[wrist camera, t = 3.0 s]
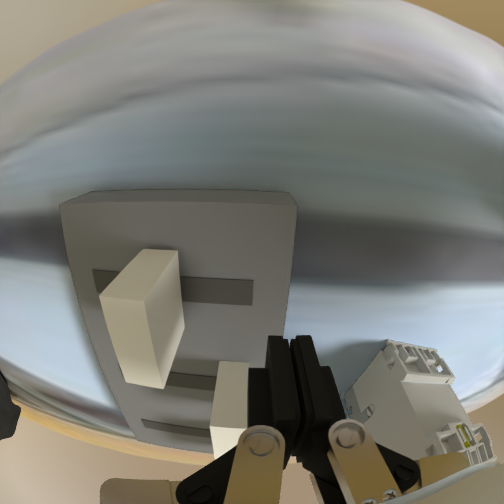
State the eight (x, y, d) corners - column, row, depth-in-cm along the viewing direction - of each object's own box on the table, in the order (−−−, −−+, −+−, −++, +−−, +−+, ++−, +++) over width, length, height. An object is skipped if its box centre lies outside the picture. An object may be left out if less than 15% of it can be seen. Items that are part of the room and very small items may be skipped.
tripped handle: (177, 250, 14) (143, 301, 9) (184, 327, 16) (163, 389, 11) (143, 249, 14) (98, 295, 9) (154, 324, 16) (125, 382, 11)
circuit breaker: (316, 425, 27) (332, 536, 13) (388, 339, 22) (454, 478, 8) (365, 427, 28) (390, 522, 14) (436, 349, 23) (499, 456, 9)
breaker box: (288, 192, 17) (322, 243, 8) (262, 428, 27) (263, 497, 18) (87, 191, 17) (-6, 232, 8) (143, 414, 27) (122, 477, 18)
